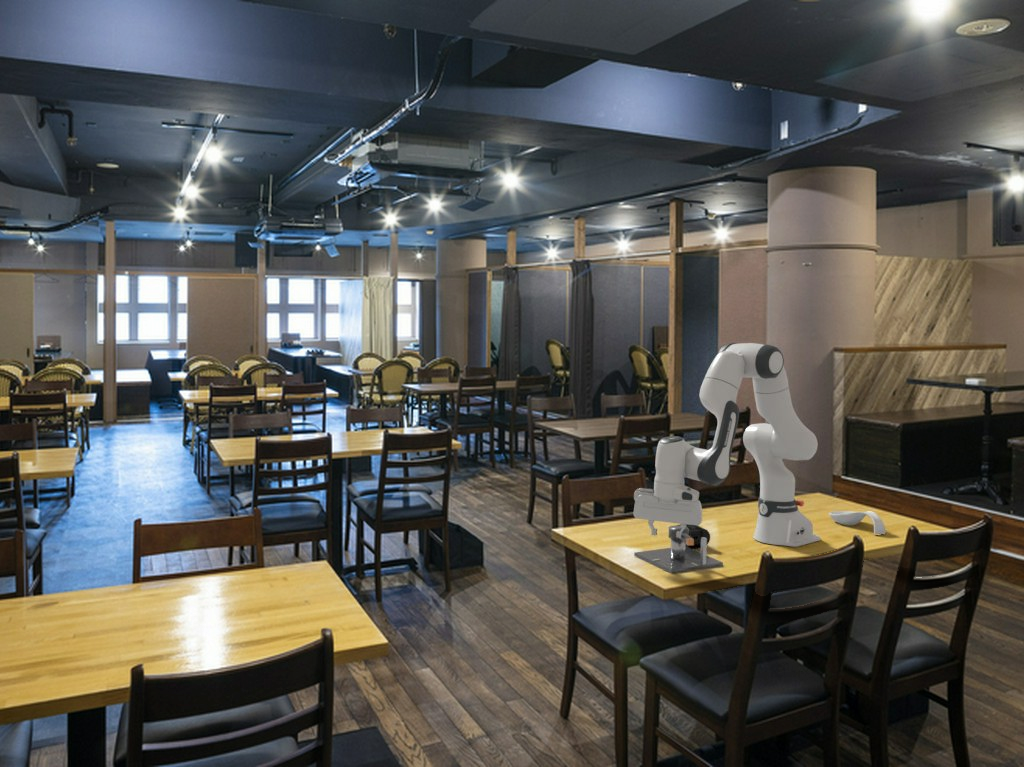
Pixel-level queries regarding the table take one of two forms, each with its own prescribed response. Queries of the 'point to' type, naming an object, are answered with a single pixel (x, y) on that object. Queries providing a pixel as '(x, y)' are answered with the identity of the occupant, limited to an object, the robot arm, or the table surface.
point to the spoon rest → (858, 519)
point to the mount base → (676, 563)
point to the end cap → (697, 536)
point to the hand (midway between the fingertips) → (666, 536)
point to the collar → (685, 534)
